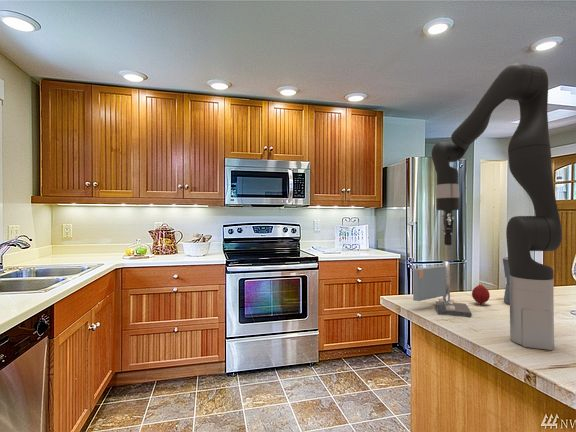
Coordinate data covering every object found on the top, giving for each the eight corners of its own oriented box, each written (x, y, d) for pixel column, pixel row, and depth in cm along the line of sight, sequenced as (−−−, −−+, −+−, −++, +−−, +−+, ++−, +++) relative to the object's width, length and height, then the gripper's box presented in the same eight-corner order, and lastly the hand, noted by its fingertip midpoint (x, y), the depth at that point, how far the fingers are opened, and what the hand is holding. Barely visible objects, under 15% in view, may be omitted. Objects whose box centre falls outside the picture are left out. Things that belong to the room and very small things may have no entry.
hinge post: (454, 305, 120) (454, 262, 120) (439, 304, 122) (439, 262, 122) (452, 302, 125) (452, 261, 125) (438, 301, 127) (438, 260, 127)
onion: (492, 306, 119) (492, 285, 119) (475, 306, 120) (475, 284, 120) (486, 302, 124) (486, 282, 124) (469, 302, 125) (469, 281, 126)
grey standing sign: (418, 301, 113) (418, 270, 113) (412, 299, 115) (412, 269, 115) (446, 295, 121) (446, 266, 121) (440, 294, 124) (439, 265, 124)
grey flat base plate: (471, 317, 106) (471, 310, 106) (438, 314, 110) (438, 307, 110) (465, 307, 118) (465, 301, 118) (435, 305, 121) (435, 299, 121)
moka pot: (508, 307, 117) (508, 252, 117) (496, 297, 132) (496, 248, 132) (540, 310, 114) (539, 253, 114) (524, 299, 129) (523, 249, 129)
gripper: (461, 195, 110) (462, 246, 110) (456, 198, 122) (457, 243, 122) (437, 196, 112) (437, 246, 112) (435, 198, 125) (435, 243, 125)
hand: (447, 244), depth 117 cm, fingers closed
